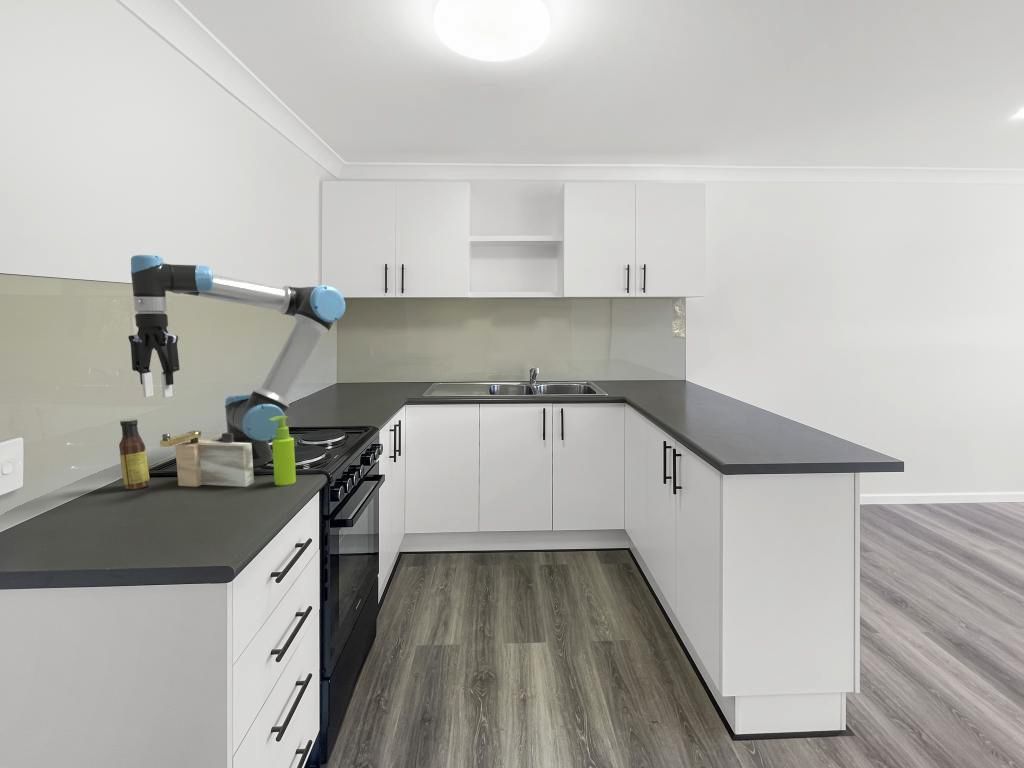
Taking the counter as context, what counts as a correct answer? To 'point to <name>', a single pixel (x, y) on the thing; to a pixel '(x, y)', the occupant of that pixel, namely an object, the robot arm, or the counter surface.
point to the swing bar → (178, 438)
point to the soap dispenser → (283, 454)
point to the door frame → (214, 462)
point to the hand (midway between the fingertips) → (158, 396)
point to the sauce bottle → (133, 456)
